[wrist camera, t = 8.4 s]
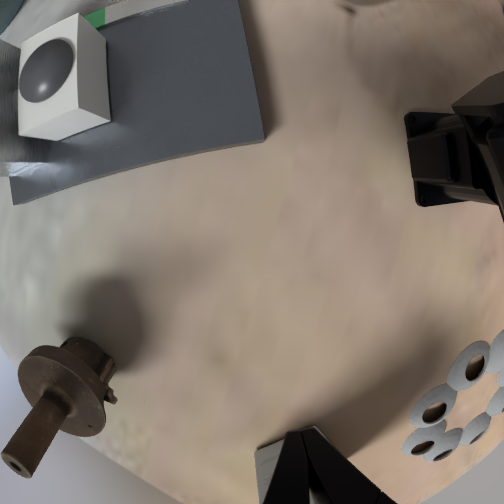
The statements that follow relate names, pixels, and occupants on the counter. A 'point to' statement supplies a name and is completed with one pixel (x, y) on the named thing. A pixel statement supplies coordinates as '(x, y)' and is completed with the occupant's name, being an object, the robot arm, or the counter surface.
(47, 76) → the white box with dome
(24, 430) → the industrial component
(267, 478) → the skincare box
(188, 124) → the bench
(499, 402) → the grey flat openwork piece
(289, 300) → the counter surface
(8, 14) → the teal cup
